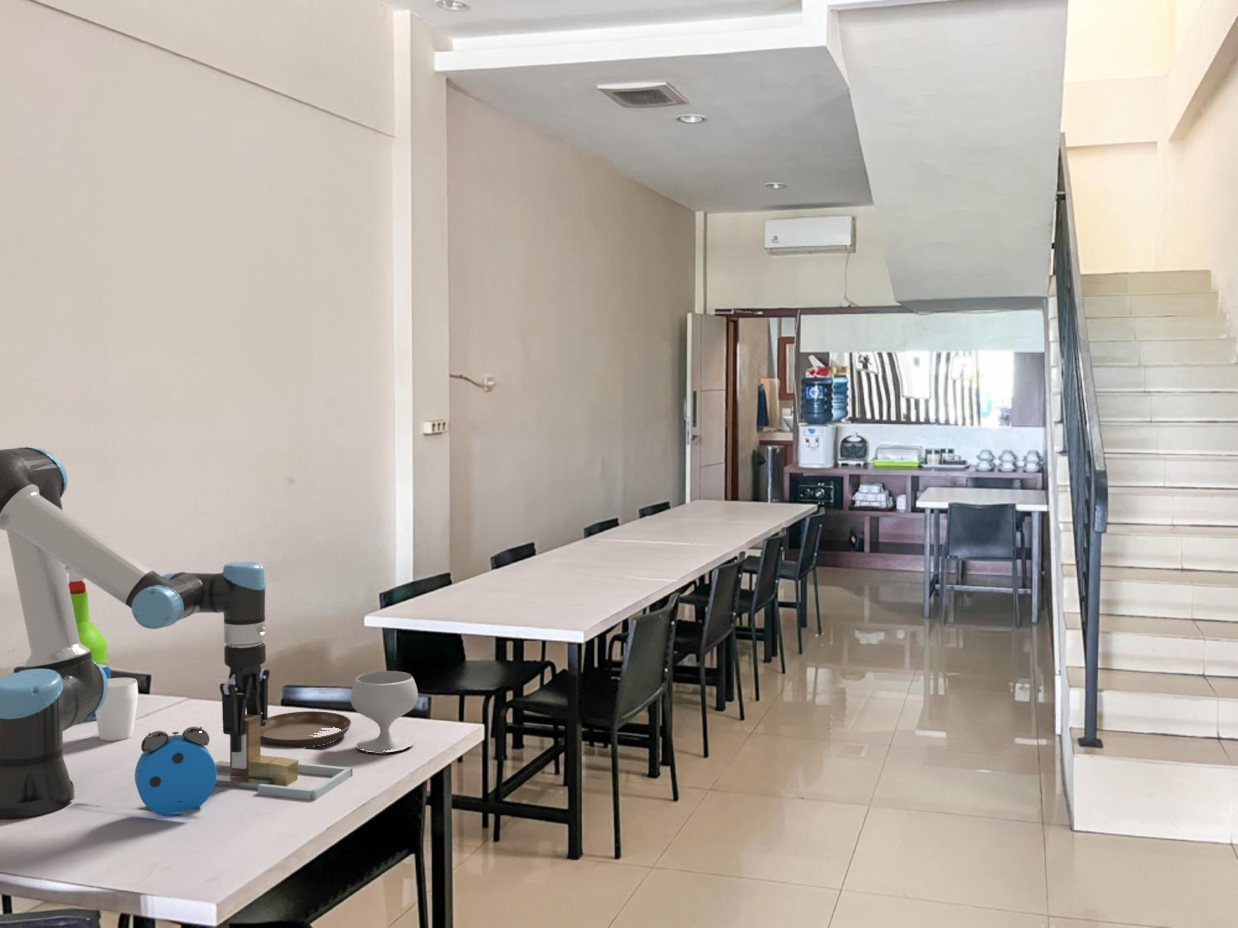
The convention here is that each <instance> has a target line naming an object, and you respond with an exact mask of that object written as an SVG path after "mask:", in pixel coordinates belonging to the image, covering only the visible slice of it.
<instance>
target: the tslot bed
mask: <svg viewBox="0 0 1238 928" xmlns="http://www.w3.org/2000/svg"><path fill="white" fill-rule="evenodd" d="M214 763H215V766H216V772H217V776H216V783H215V786H220V787H221V786H222V787H229V788H240V789H246V790H247V789H249V790H257V791H258V785H260V784H268V785H271V784H270V781H267V780H257V779H249V778H244V777H235V776H230V761H223V760H219V761H216V762H214Z"/></svg>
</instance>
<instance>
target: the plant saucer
mask: <svg viewBox="0 0 1238 928" xmlns="http://www.w3.org/2000/svg"><path fill="white" fill-rule="evenodd" d="M263 722H266V725H265V726H260V741H262V742H263V743H264V744H265V745H268V746H273V747H282V748H292V749H293V748H294V749H302V748H304V747H313V746H318V745H323V744H327V743H330V742H333V741H335V740H337V741H338V739H339V738H340V739H341V738H343V736H344V735H346V733H347V732H348V731H349V729H350V728H351V725H352V720H351V719H350V718H349V717H347V716H346V715H344V714H340V713H336V712H328V711H316V710H315V711H311V710H306V711H295V712H294V711H293V712H286V713H285V712H284V713H281V714H280V713H279V714H275V715H273V716H272V715H271V716H268V717H267V720H263ZM333 727H335V728H339V729H341V731H339V732H337V733H334V734H330V735H326V736H321V737H313V736H314V735H318V734H314V733H318V732H319V731H327V730H322V729H321V728H333ZM328 731H329V730H328ZM319 733H320V732H319ZM321 733H322V732H321ZM309 735H310V736H309ZM311 735H313V736H311ZM340 739H339V740H340ZM335 742H336V741H335ZM333 743H334V742H333ZM330 744H331V743H330ZM327 745H328V744H327ZM313 748H314V747H313ZM304 749H305V748H304Z"/></svg>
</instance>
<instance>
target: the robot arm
mask: <svg viewBox="0 0 1238 928" xmlns="http://www.w3.org/2000/svg"><path fill="white" fill-rule="evenodd" d="M67 474H68V473H67V470H66V468H65V466H64V465H63V463H62V461H60V459H59V458H58V457H57V456H56V455H54V454H52V453H51V452H49V451H48V450H44V449H41V448H37V447H29V446H25V447H17V448H7V449H6V448H5V449H0V530H1V531H6V534H7V539H8V544H9V548H10V549H9V550H10V554H11V557H12V558H11V559H12V564H13V568H14V569H13V570H14V574H15V580H16V584H17V589H18V593H19V595H18V596H19V599H20V605H21V609H22V613H23V614H22V615H23V619H24V624H25V630H26V634H27V639H28V644H29V648H30V656H29V657H28V658H27V660H26V661H25V662H24V665H23V666H24V669H23V670H20V671H19V672H11V673H9V674H6V675H4V676H1V677H0V819H16V818H29V817H34V816H38V815H45V814H47V813H52V812H54V811H55V812H56V811H58V810H60V809H63V808H65V807H66V806H68V805H70V804H71V803H72V801H74V800H75V785H74V783H73V781H72V780H71V777H70V774H69V771H68V768H67V765H66V763H65V760H64V749H63V748H64V735H63V734H64V733H63V732H64V731H67V730H68V729H70V728H72V727H73V726H75V725H77V724H80V723H83V722H84V721H87V719H88V718H89V717H90V716H91V715H92V714H93V713H95V712H96V711H97V710H98V709H99V708H100V707H101V705H102V704H103V702H104V700H105V698H106V695H107V691H108V681H107V677H106V674H105V672H104V670H103V669H102V668H101V666H98V665H97V664H96V662H94V661H93V660H92V655H91V651H90V649H89V648H87V647H86V646H84V645H82V644H81V643H80V639H79V634H78V629H77V624H76V619H75V614H74V609H73V604H72V599H71V594H70V589H69V584H68V583H69V578H68V576H67V574H68V573H67V572H66V569H65V565H66V566H68V567H70V568H71V569H73V570H74V571H76V572H77V573H79V574H80V575H82V576H83V577H85V578H84V579H86V580H88V581H89V582H91V583H92V584H94V585H95V586H96V587H98V588H100V589H101V590H103V591H104V592H106V593H108V594H109V595H110V596H112V597H114V599H116V600H118V601H119V602H121V603H122V604H124V605H126V606H127V607H129V608H130V609H131V613H132V616H133V618H134V619H135V621H136V623H138V625H140V626H141V627H143V628H145V629H150V630H158V629H163V628H168V627H171V626H173V625H174V624H176V623H177V622H179V621H180V620H183V619H186V618H187V617H190V616H192V615H195V614H198V613H199V614H201V613H203V614H205V613H206V614H207V613H208V614H209V613H210V614H211V613H215V614H221V613H223V643H224V644H225V646H224V648H223V650H224V651H223V652H224V653H223V654H224V655H223V657H224V660H223V662H224V664H225V666H228V667H229V674H228V680H227V681H226V683H220V685H219V690H220V694H221V702H222V703H221V704H222V705H221V706H222V732H223V734H224V735H229V736H230V735H231V751H232V768H239V769H245V768H247V752H246V734H243V732H244V722H245V714H250V715H260V726H265V725H266V722H263V720H267V718H268V717H269V716H268V714H269V713H268V711H269V710H268V706H269V704H268V700H269V698H268V697H269V678H270V673H271V672H270V669H264V668H262V666H261V665H263V664H264V663H265V662H266V660H267V659H266V658H267V657H266V655H267V653H266V650H267V649H266V643H264V641H266V630H267V629H266V588H267V586H266V583H265V582H266V580H265V568H264V566H263V564H261V563H259V562H254V561H241V562H240V561H235V562H227V563H226V564H225V565H224V566H223V569H222V570H223V571H222V572H220V573H219V572H218V573H206V572H205V573H204V572H203V573H201V572H200V573H199V572H185V571H180V572H175V573H173V572H172V573H169V572H168V573H166V574H164V575H160V574H159V573H157V572H155V570H153V569H152V568H151V567H148V566H147V565H146V564H144V563H143V562H141V561H139V560H138V559H137V558H135V557H133V556H132V555H131V554H129V553H128V552H127V551H125V550H123V549H122V548H120V547H119V546H117V545H116V544H114V543H112V542H111V541H109V540H108V539H106V538H105V537H103V536H102V535H100V534H99V533H97V532H96V531H95V530H93V529H92V528H91V527H89V526H87V525H85V524H84V523H83V522H81V521H79V520H78V519H76V518H75V517H74V516H72V515H70V514H69V513H67V512H66V511H65V510H64V509H63V505H62V500H61V499H62V497H63V495H64V493H65V492H66V490H67V487H68V475H67Z"/></svg>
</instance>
